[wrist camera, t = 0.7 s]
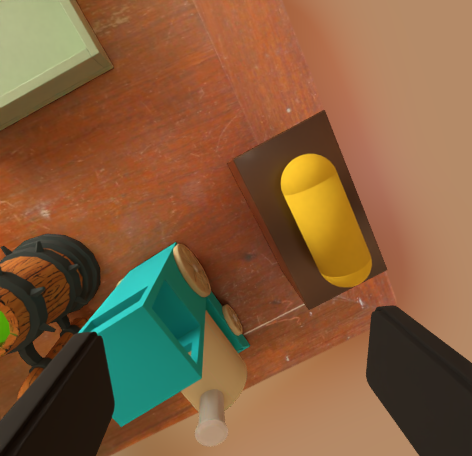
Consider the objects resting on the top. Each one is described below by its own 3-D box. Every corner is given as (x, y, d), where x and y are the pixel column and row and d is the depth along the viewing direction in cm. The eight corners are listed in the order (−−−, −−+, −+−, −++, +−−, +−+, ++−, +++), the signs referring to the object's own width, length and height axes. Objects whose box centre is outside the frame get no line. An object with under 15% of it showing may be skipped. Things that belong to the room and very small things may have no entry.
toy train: (204, 368, 34) (197, 517, 19) (126, 271, 30) (44, 366, 15) (254, 337, 33) (286, 466, 19) (182, 236, 30) (153, 299, 15)
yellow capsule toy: (266, 170, 20) (279, 170, 16) (311, 146, 20) (335, 140, 16) (320, 282, 22) (342, 306, 19) (360, 261, 22) (391, 280, 18)
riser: (226, 162, 28) (232, 159, 20) (290, 128, 28) (325, 109, 19) (282, 272, 32) (308, 310, 23) (339, 242, 32) (388, 269, 23)
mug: (-11, 258, 28) (-158, 316, 17) (68, 215, 28) (-29, 244, 17) (62, 344, 31) (-22, 441, 20) (134, 306, 31) (89, 383, 20)
